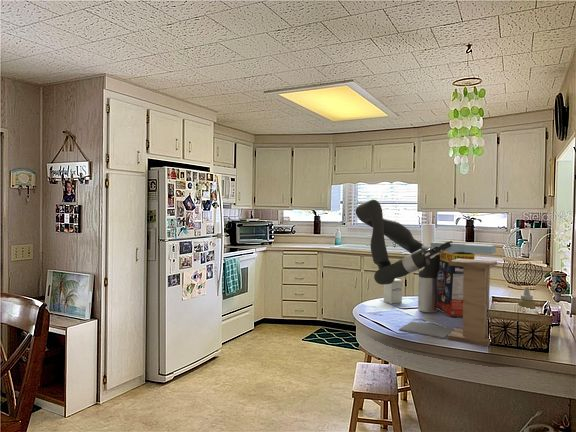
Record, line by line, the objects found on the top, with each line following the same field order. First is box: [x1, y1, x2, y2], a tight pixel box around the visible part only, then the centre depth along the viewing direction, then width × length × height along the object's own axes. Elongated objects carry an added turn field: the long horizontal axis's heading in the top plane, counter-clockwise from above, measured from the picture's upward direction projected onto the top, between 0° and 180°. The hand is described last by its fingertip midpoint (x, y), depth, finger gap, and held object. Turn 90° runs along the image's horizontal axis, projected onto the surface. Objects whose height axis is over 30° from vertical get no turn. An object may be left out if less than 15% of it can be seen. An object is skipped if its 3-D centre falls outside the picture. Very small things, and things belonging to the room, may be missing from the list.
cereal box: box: [437, 251, 476, 318], centre depth 218 cm, size 27×11×32 cm, turn 1°
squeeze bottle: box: [517, 286, 537, 310], centre depth 188 cm, size 8×8×18 cm
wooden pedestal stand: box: [447, 258, 498, 347], centre depth 173 cm, size 14×15×31 cm
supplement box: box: [383, 278, 403, 305], centre depth 239 cm, size 7×7×13 cm
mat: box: [398, 321, 456, 339], centre depth 184 cm, size 15×19×1 cm
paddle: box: [430, 241, 497, 255], centre depth 175 cm, size 8×24×3 cm, turn 54°
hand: (451, 243), depth 178 cm, fingers closed on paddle, 3 cm apart
